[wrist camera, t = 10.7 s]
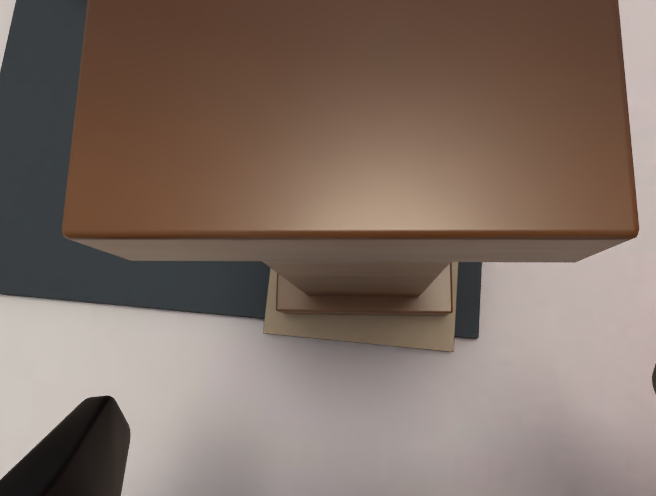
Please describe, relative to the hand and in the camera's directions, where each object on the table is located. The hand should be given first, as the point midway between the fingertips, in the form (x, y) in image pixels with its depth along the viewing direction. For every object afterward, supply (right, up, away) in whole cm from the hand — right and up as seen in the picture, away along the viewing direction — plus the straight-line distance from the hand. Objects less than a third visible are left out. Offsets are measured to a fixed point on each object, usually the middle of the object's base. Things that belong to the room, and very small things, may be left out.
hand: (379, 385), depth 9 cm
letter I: (0, +2, +9) cm, 10 cm away
